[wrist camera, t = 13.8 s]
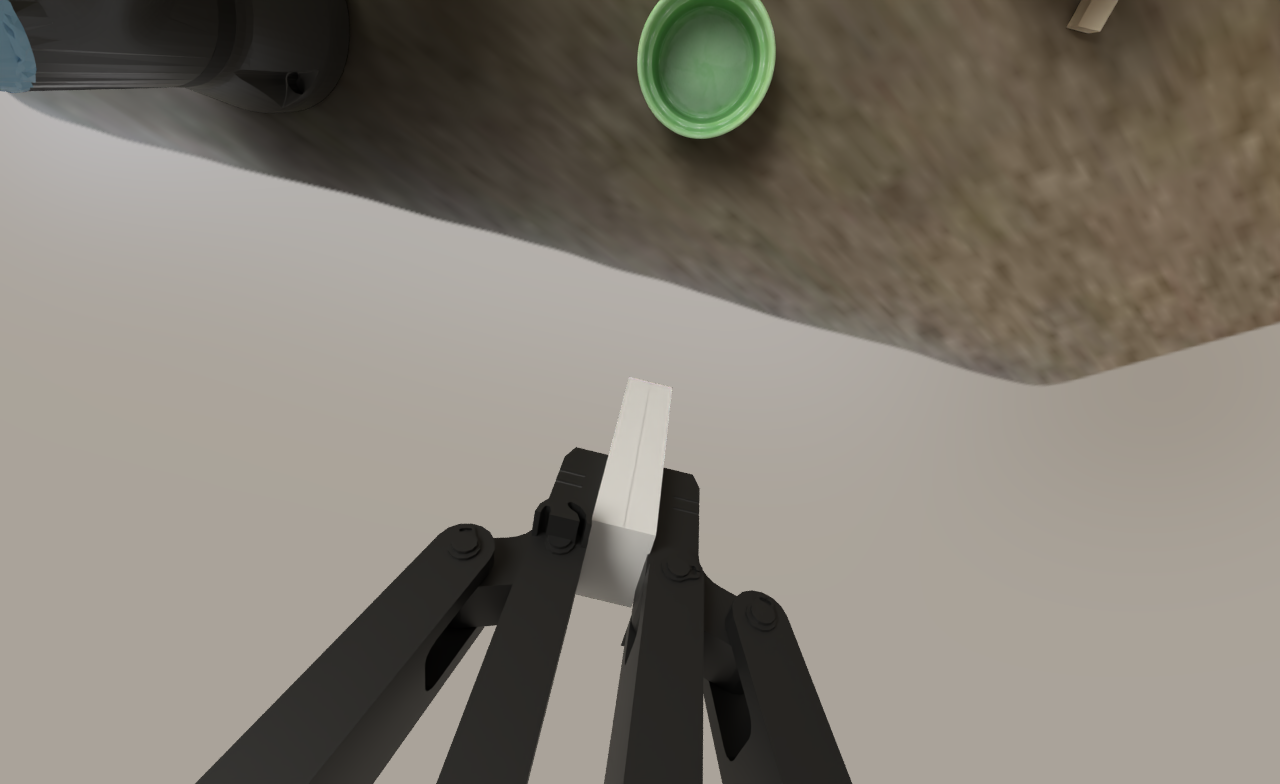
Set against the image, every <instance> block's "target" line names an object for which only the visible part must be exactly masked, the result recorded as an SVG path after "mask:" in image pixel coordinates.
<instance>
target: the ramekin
mask: <svg viewBox="0 0 1280 784" xmlns="http://www.w3.org/2000/svg"><path fill="white" fill-rule="evenodd" d="M775 59H776V43H775V35H774V30H773V26H772V23H771V20H770V17H769V15H768V13H767V11H766V9H765V7H764V5H763V4H762V2H761V1H760V0H660V1H659V2H658V3H657V4H656V6H655V7H654V9H653V10H652V12H651V14H650V15H649V17H648V19H647V21H646V23H645V26H644V28H643V31H642V34H641V38H640V42H639V47H638V57H637V69H638V78H639V83H640V87H641V90H642V93H643V96H644V98H645V101H646V102H647V104H648V106H649V108H650V109H651V111H652V112H653V114H654V115H655V116H656V118H657V119H658V120H659V121H660V122H661V123H662V124H663V125H664V126H666V127H667V128H668V129H670V130H671V131H673V132H675V133H677V134H679V135H682V136H684V137H688V138H694V139H708V138H713V137H717V136H720V135H723V134H725V133H728V132H730V131H732V130H733V129H735V128H737V127H738V126H740V125H741V124H742V123H743V122H745V121H746V120H747V119H748V118H749V117H750V116H751V115H752V114H753V113H754V112H755V110H756V109H757V108H758V106H759V105H760V103H761V102H762V100H763V98H764V97H765V95H766V93H767V90H768V88H769V86H770V83H771V80H772V76H773V72H774V67H775Z"/></svg>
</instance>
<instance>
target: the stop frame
mask: <svg viewBox="0 0 1280 784" xmlns="http://www.w3.org/2000/svg"><path fill="white" fill-rule="evenodd" d="M1117 2H1118V0H1081V2H1080V4H1079V5H1078V7H1077V9H1076V11H1075V13H1074V15H1073V16H1072V18H1071V20H1070V22H1069V24H1068V25H1067V27H1066V28H1070V29H1073V30H1077V31H1081V32H1085V33H1095V32H1100V31H1101V29H1102V28H1103V26H1104V24H1105V22H1106V21H1107V19H1108V17H1109V16H1110V14H1111V12H1112V10H1113V9H1114V7H1115V5H1116V3H1117Z"/></svg>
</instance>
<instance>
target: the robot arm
mask: <svg viewBox="0 0 1280 784" xmlns="http://www.w3.org/2000/svg"><path fill="white" fill-rule="evenodd" d="M348 47H349V17H348V9H347V3H346V0H0V91H6V92H10V93H20V92H27V91H47V90H88V89H128V88H168V87H185V88H187V89H190V90H193V91H195V92H198V93H201V94H204V95H206V96H209V97H212V98H214V99H217V100H220V101H222V102H225V103H228V104H230V105H233V106H236V107H238V108H242V109H245V110H249V111H255V112H262V113H281V112H295V111H300V110H304V109H307V108H310V107H312V106H314V105H316V104H317V103H319V102H321V101H322V100H323V99H324V98H325V97H326V96H327V95H328V94H329V93H330V92H331V91H332V90H333V89H334V87H335V86H336V84H337V82H338V81H339V79H340V77H341V74H342V72H343V69H344V66H345V63H346V59H347V54H348ZM671 395H672V387H668V386H664V385H660V384H656V383H652V382H648V381H644V380H640V379H636V378H632V377H629V379H628V383H627V387H626V391H625V394H624V398H623V402H622V406H621V410H620V413H619V417H618V421H617V425H616V429H615V433H614V436H613V440H612V444H611V448H610V452H609V455H606V454H602V453H597V452H593V451H589V450H585V449H581V448H577V447H576V448H575V449H573V450H572V451H571V452H570V453H569V454H567V455H566V456H565V458H564V460H563V463H562V465H561V468H560V471H559V473H558V476H557V479H556V482H555V484H554V487H553V489H552V492H551V494H550V497H549V499H547V500H545V501H544V502H542V503H540V505H539V506H538V508H537V509H536V510H535V515H534V522H533V528H532V530H531V531H529V532H528V533H526V534H523V535H520V536H517V537H509V538H493V537H492V535H491V533H490V532H489V531H488V530H486V529H485V528H483V527H482V526H478V525H475V524H458V525H455V526H452V527H449V528H447V529H446V530H445V531H443V532H442V533H440V534H439V535H438V536H437V537H436V538H435V539H434V540H433V541H432V542H431V543H430V544H429V545H428V546H427V548H425V549H424V550H423V551H422V553H421V554H420V555H419V556H418V557H417V558H416V559H415V560H414V561H413V562H412V563H411V564H410V565H409V566H408V567H407V568H406V569H405V570H404V571H403V572H402V573H401V574H400V575H399V576H398V577H397V578H396V579H395V580H394V581H393V582H392V583H391V584H390V585H389V586H388V587H387V588H386V589H385V590H384V591H383V592H382V593H381V595H379V597H378V598H376V600H374V601H373V603H372V604H371V605H370V606H369V607H368V608H367V609H366V610H365V611H364V612H363V613H362V614H361V615H360V616H359V617H358V618H357V619H356V620H355V621H354V622H353V623H352V624H351V625H350V626H349V627H348V628H347V629H346V630H345V631H344V632H343V633H342V634H341V635H340V636H339V637H338V638H337V639H336V640H335V641H334V642H333V643H332V644H331V645H330V646H329V648H327V649H326V651H325V652H324V653H323V654H322V655H321V656H320V657H319V658H318V659H317V660H316V661H315V662H314V663H313V664H312V665H311V666H310V667H309V668H308V669H307V670H306V671H305V672H304V673H303V674H302V675H301V676H300V677H299V678H298V679H297V680H296V681H295V682H294V683H293V684H292V685H291V686H290V687H289V688H288V689H287V690H286V691H285V692H284V693H283V694H282V695H281V696H280V698H279V699H278V700H277V701H276V702H275V703H274V704H273V705H272V706H271V707H270V708H269V709H268V710H267V711H266V712H265V713H264V714H263V715H262V716H261V717H260V718H259V719H258V720H257V721H256V722H255V723H254V724H253V725H252V726H251V727H250V728H249V729H248V730H247V731H246V732H245V733H244V734H243V735H242V736H241V737H240V738H239V739H238V740H237V741H236V743H235V744H234V745H233V746H232V747H231V748H230V749H229V750H228V751H227V752H226V753H225V754H224V755H223V756H222V757H221V758H220V759H219V760H218V761H217V762H216V763H215V764H214V765H213V766H212V767H211V768H210V769H209V770H208V771H207V772H206V773H205V774H204V775H203V776H202V777H201V778H200V779H199V780H198V781H197V782H196V784H373V783H374V782H375V780H376V779H377V777H378V776H379V775H380V773H381V772H382V770H383V769H384V768H385V766H386V765H387V763H388V762H389V761H390V759H391V758H392V756H393V755H394V754H395V752H396V751H397V749H398V748H399V747H400V745H401V744H402V742H403V741H404V740H405V738H406V737H407V735H408V734H409V732H410V731H411V730H412V728H413V727H414V725H415V724H416V723H417V721H418V720H419V718H420V717H421V716H422V714H423V713H424V711H425V710H426V709H427V707H428V706H429V704H430V703H431V701H432V700H433V699H434V697H435V696H436V694H437V693H438V692H439V690H440V689H441V687H442V686H443V685H444V683H445V682H446V680H447V679H448V678H449V676H450V675H451V673H452V672H453V671H454V669H455V668H456V666H457V665H458V663H459V662H460V661H461V659H462V658H463V656H464V655H465V654H466V652H467V650H468V649H469V648H470V647H471V645H472V644H473V642H474V641H475V640H476V638H477V637H478V635H479V634H480V633H481V631H482V630H483V628H484V626H491V625H492V626H493V625H497V627H496V629H495V632H494V634H493V637H492V640H491V642H490V645H489V647H488V650H487V653H486V655H485V658H484V661H483V663H482V666H481V669H480V671H479V674H478V676H477V679H476V682H475V684H474V687H473V689H472V692H471V694H470V697H469V700H468V702H467V705H466V708H465V710H464V713H463V716H462V718H461V721H460V723H459V726H458V729H457V731H456V734H455V736H454V739H453V742H452V744H451V747H450V750H449V752H448V755H447V757H446V760H445V762H444V765H443V768H442V771H441V773H440V775H439V778H438V781H437V783H436V784H528V780H529V776H530V772H531V768H532V764H533V760H534V756H535V752H536V748H537V744H538V740H539V736H540V732H541V728H542V724H543V721H544V717H545V713H546V709H547V705H548V700H549V697H550V693H551V689H552V685H553V680H554V677H555V673H556V669H557V665H558V661H559V657H560V653H561V649H562V645H563V641H564V637H565V633H566V629H567V625H568V622H569V618H570V614H571V609H572V605H573V601H574V597H575V594H577V595H581V596H585V597H589V598H593V599H598V600H602V601H606V602H610V603H614V604H619V605H623V606H627V607H631V606H632V603H633V609H632V616H631V618H630V621H629V624H628V627H627V630H626V633H625V635H624V638H623V641H622V644H621V646H624V653H623V660H622V666H621V673H620V680H619V687H618V694H617V700H616V707H615V713H614V720H613V728H612V734H611V740H610V747H609V754H608V761H607V768H606V774H605V782H604V784H703V694H704V698H705V703H706V708H707V713H708V717H709V722H710V727H711V731H712V736H713V740H714V745H715V750H716V754H717V760H718V764H719V769H720V774H721V779H722V783H723V784H852V782H851V780H850V777H849V774H848V772H847V769H846V767H845V764H844V761H843V759H842V756H841V754H840V751H839V749H838V746H837V744H836V741H835V738H834V736H833V733H832V731H831V728H830V725H829V723H828V720H827V718H826V715H825V713H824V710H823V707H822V705H821V702H820V700H819V697H818V694H817V692H816V689H815V687H814V684H813V682H812V679H811V676H810V674H809V671H808V669H807V666H806V664H805V661H804V658H803V656H802V653H801V651H800V648H799V646H798V643H797V640H796V638H795V635H794V633H793V630H792V628H791V625H790V623H789V620H788V617H787V615H786V614H785V612H784V610H783V609H782V607H781V606H780V605H779V604H778V603H777V602H776V601H775V600H774V599H773V598H771V597H769V596H768V595H766V594H764V593H762V592H757V591H746V592H742V593H741V594H739V595H738V596H735V595H734V594H732V593H730V592H728V591H726V590H725V589H723V588H721V587H719V586H718V585H716V584H715V583H713V582H712V581H711V580H710V579H709V578H708V577H707V576H706V574H705V573H704V571H703V570H702V567H701V565H700V563H699V556H698V549H699V544H698V543H699V486H698V484H697V482H696V480H695V478H694V476H693V475H692V474H687V473H683V472H679V471H675V470H671V469H667V468H664V457H665V448H666V440H667V431H668V422H669V413H670V403H671ZM633 601H634V602H633Z"/></svg>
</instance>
